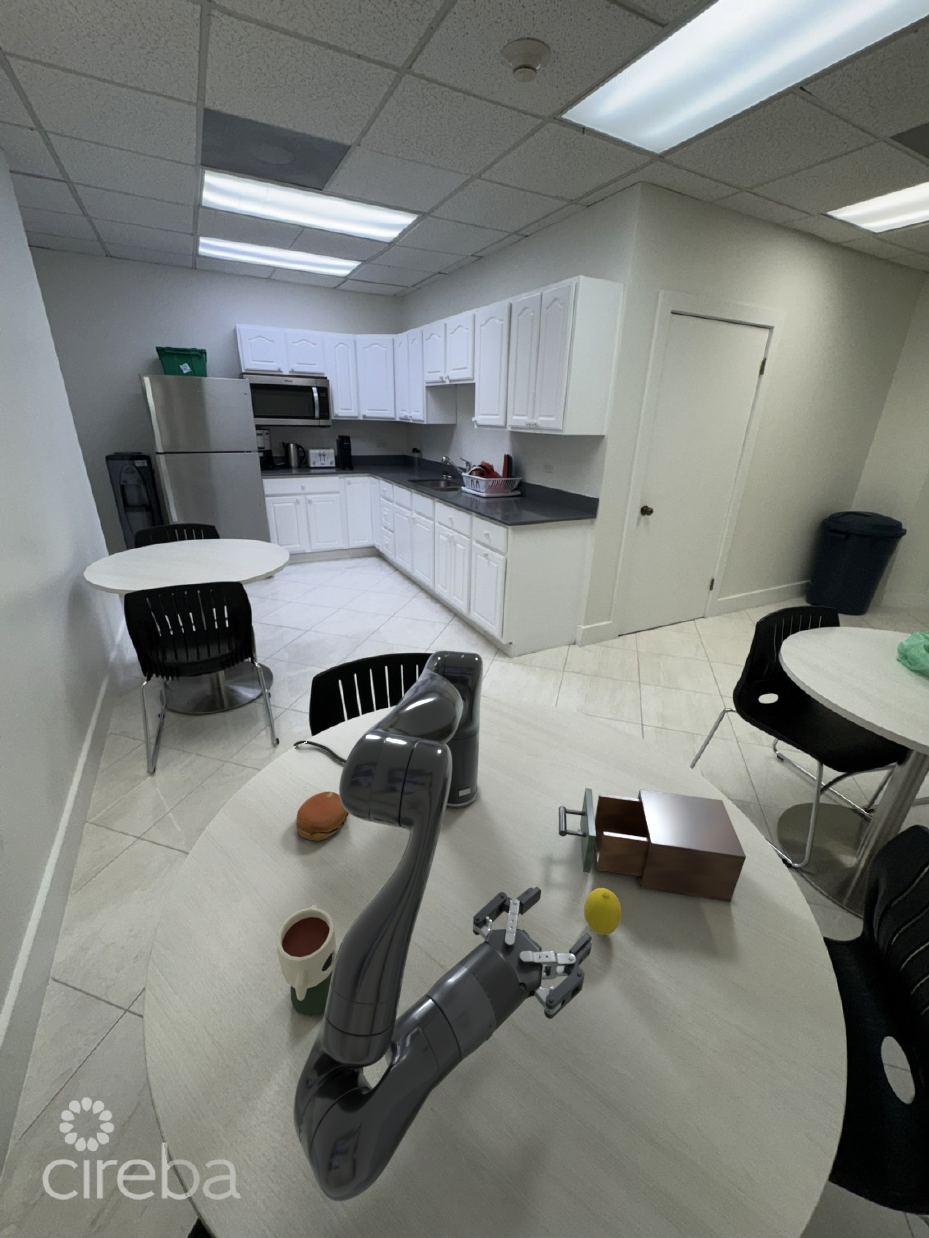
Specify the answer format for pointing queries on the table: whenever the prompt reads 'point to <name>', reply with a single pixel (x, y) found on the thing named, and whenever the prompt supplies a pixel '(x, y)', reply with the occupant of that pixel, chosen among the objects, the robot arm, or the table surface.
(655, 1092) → the table surface
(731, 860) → the cabinet
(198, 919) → the table surface
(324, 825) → the burger
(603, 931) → the lemon
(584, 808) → the drawer
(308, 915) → the character mug
